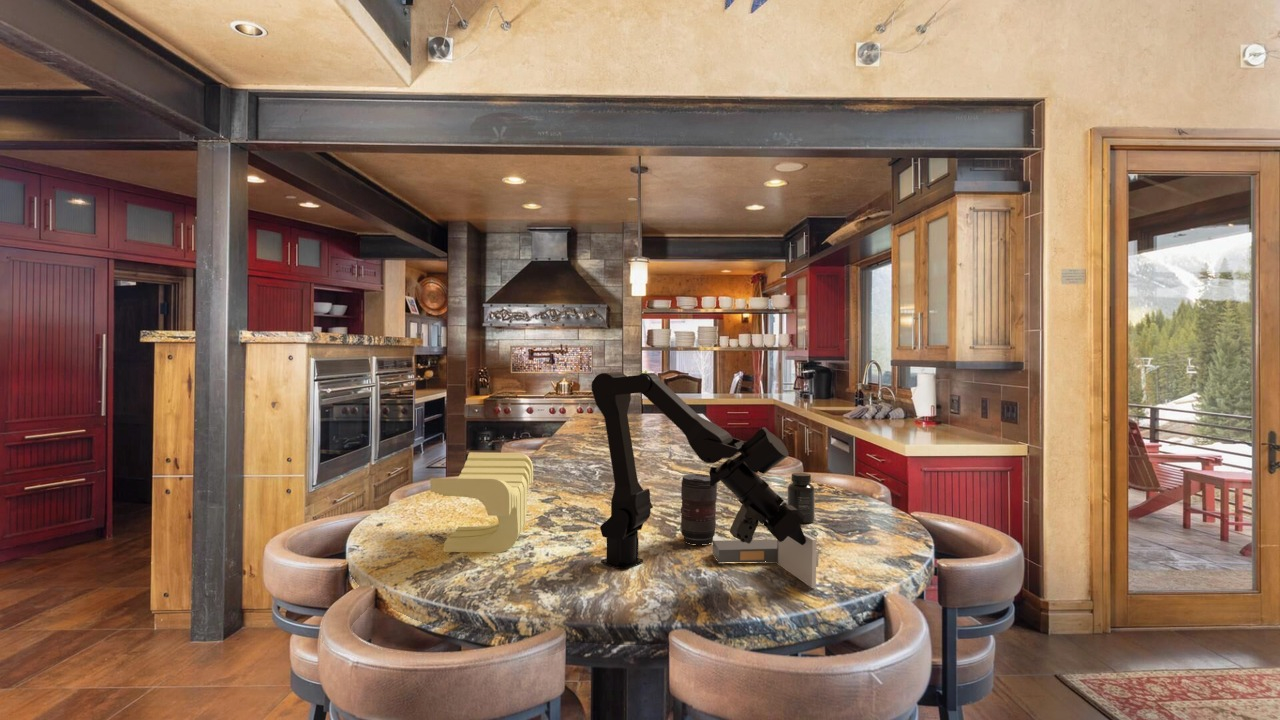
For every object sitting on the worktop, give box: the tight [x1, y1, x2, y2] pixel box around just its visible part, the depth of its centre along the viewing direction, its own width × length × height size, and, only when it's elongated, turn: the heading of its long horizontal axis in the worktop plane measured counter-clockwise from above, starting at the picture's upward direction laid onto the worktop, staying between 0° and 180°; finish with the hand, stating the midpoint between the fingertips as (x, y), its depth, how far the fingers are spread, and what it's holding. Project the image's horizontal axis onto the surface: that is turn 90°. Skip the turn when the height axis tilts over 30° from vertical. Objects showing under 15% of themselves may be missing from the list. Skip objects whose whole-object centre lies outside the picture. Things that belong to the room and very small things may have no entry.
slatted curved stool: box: [429, 451, 534, 553], centre depth 142 cm, size 30×16×18 cm, turn 1°
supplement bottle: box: [787, 472, 816, 524], centre depth 162 cm, size 7×7×12 cm
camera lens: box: [680, 473, 718, 545], centre depth 144 cm, size 8×8×15 cm
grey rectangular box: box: [712, 539, 777, 563], centre depth 133 cm, size 15×6×3 cm, turn 95°
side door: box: [776, 531, 820, 589], centre depth 124 cm, size 14×2×9 cm, turn 16°
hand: (804, 543), depth 119 cm, fingers closed, pressing on side door
